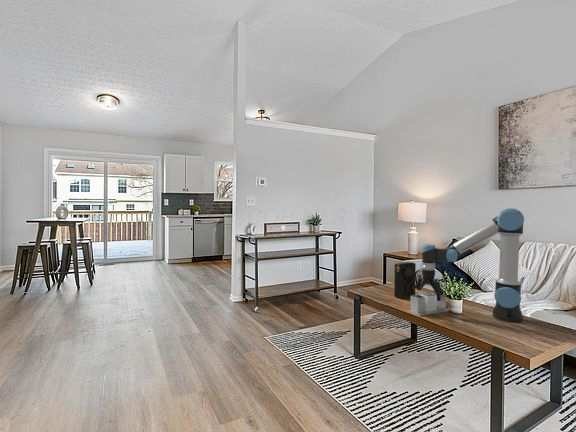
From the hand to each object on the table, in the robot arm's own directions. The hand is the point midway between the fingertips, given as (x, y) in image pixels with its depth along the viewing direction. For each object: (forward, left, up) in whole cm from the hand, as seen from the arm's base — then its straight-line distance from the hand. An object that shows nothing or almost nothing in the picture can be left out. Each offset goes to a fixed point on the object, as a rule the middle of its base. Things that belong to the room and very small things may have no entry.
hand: (428, 303), depth 202 cm
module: (0, 0, -4) cm, 4 cm away
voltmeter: (-11, -32, -5) cm, 34 cm away
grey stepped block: (0, 0, -5) cm, 5 cm away
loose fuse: (-9, -17, -5) cm, 20 cm away
